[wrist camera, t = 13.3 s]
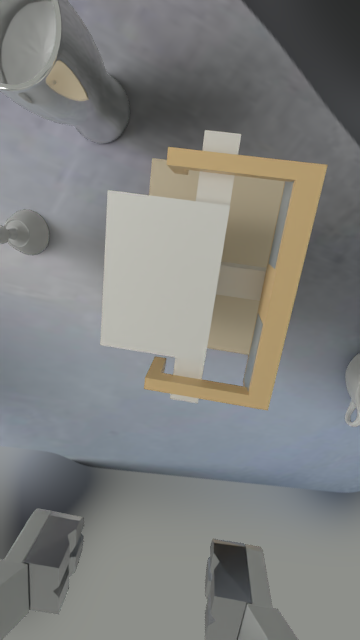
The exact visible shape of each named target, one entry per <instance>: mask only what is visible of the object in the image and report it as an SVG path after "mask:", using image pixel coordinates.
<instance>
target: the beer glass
mask: <svg viewBox="0 0 360 640" xmlns="http://www.w3.org/2000/svg"><path fill="white" fill-rule="evenodd" d="M0 92H1V93H2V94H4V95H5V96H6V97H8V98H9V99H10V100H12V101H13V102H15V103H16V104H18V105H19V106H21V107H23V108H24V109H26V110H27V111H29V112H31V113H33V114H35V115H37V116H39V117H41V118H43V119H46V120H49V121H52V122H55V123H59V124H64V125H69V126H74V127H75V128H76V129H77V131H78V132H79V133H80V134H81V135H82V136H83V137H84V138H86V139H87V140H89V141H91V142H94V143H98V144H105V143H109V142H112V141H114V140H116V139H117V138H118V137H119V136H120V135H121V134H122V133H123V132H124V130H125V128H126V126H127V124H128V120H129V115H130V106H129V100H128V97H127V94H126V92H125V90H124V88H123V87H122V86H121V84H120V83H119V82H118V81H117V80H116V79H115V78H113V77H112V76H110V75H109V74H107V72H106V69H105V66H104V63H103V61H102V58H101V55H100V53H99V50H98V48H97V46H96V44H95V42H94V39H93V37H92V35H91V34H90V32H89V30H88V29H87V27H86V25H85V24H84V22H83V21H82V19H81V18H80V16H79V15H78V13H77V12H76V11H75V9H74V8H73V7H72V5H71V4H70V3H69V1H68V0H0Z"/></svg>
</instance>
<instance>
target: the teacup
mask: <svg viewBox="0 0 360 640" xmlns="http://www.w3.org/2000/svg"><path fill="white" fill-rule="evenodd" d="M345 380H346V386H347V390H348V393H349V395H350V397H351V399H352V400H351V402H350V405H349V407H348V409H347V412H346V414H345V421H346V423H347V424H348V425H350V426H352V427H357V426H359V425H360V353H359V354H357V355H356V356H355V357H354V358H353V359H352V360H351V362H350V363H349V365H348V367H347V370H346V374H345ZM356 407H357V418H356V420H355V421H354V422H351V420H350V417H351V414H352V412H353V411H354V410H355V408H356Z"/></svg>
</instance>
